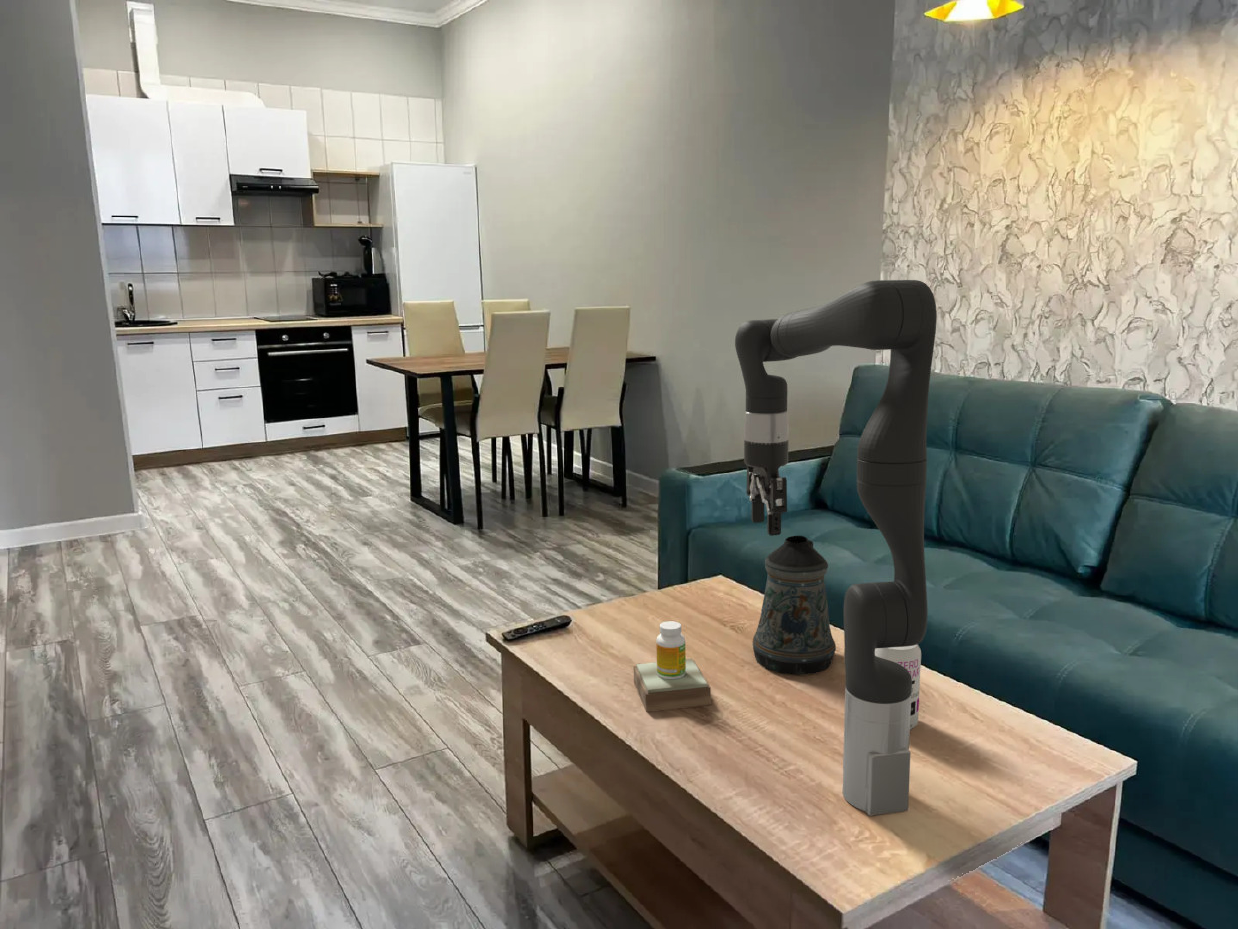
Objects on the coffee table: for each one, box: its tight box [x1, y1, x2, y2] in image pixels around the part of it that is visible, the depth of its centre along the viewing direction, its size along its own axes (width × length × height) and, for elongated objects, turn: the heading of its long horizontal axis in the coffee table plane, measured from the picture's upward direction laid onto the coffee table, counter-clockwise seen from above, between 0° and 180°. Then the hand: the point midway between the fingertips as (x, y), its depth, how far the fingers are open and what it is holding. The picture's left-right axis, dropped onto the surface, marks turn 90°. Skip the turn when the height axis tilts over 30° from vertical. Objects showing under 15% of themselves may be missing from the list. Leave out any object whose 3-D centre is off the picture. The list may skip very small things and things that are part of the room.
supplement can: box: [875, 644, 922, 731], centre depth 151 cm, size 8×8×15 cm
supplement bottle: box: [655, 620, 687, 679], centre depth 163 cm, size 5×5×10 cm
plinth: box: [633, 658, 712, 713], centre depth 165 cm, size 12×12×4 cm
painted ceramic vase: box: [752, 535, 837, 677], centre depth 177 cm, size 16×19×25 cm
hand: (765, 528), depth 154 cm, fingers open, 8 cm apart
